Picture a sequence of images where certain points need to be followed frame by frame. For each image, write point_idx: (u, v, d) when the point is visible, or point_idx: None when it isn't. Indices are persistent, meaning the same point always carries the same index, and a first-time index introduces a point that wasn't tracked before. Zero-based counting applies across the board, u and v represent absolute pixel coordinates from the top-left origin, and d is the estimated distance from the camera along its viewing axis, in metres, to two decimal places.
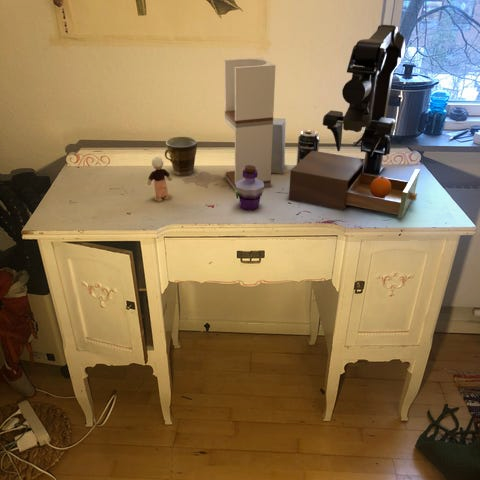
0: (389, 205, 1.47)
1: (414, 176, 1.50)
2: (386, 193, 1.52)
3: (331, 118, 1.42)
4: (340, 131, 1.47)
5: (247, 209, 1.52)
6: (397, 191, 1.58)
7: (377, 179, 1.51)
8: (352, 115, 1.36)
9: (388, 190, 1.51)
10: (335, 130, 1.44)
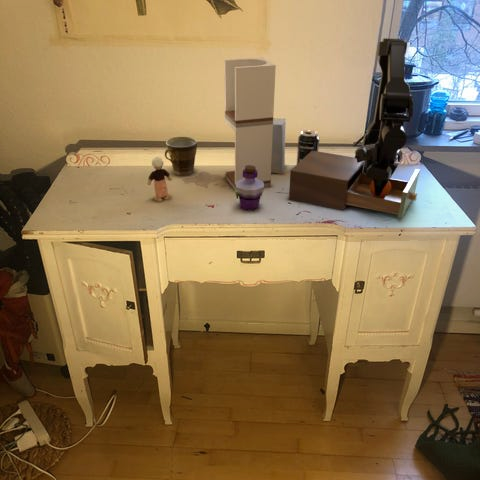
0: (389, 205, 1.47)
1: (414, 176, 1.50)
2: (386, 193, 1.52)
3: None
4: None
5: (247, 209, 1.52)
6: (397, 191, 1.58)
7: None
8: (364, 147, 1.49)
9: (388, 190, 1.51)
10: None
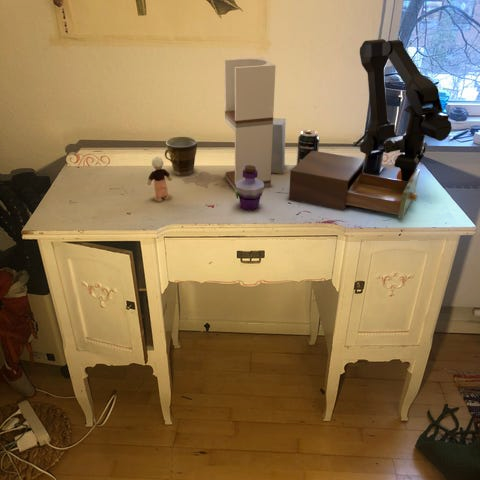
0: (389, 205, 1.47)
1: (414, 176, 1.50)
2: None
3: None
4: None
5: (247, 209, 1.52)
6: (397, 191, 1.58)
7: None
8: (392, 139, 1.59)
9: None
10: None
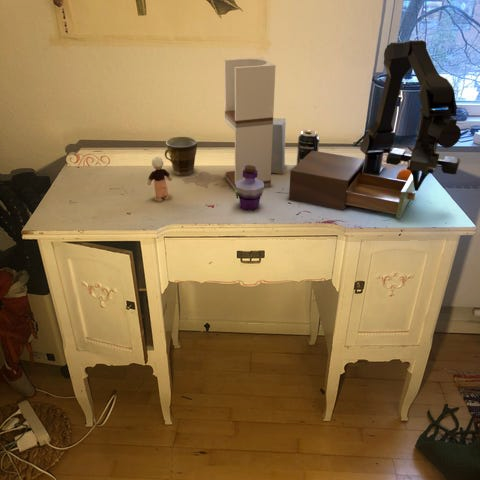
0: (387, 205, 1.47)
1: (412, 176, 1.51)
2: None
3: (395, 157, 1.44)
4: (418, 171, 1.47)
5: (247, 209, 1.52)
6: (395, 191, 1.58)
7: (403, 170, 1.62)
8: (419, 155, 1.38)
9: None
10: (415, 171, 1.44)
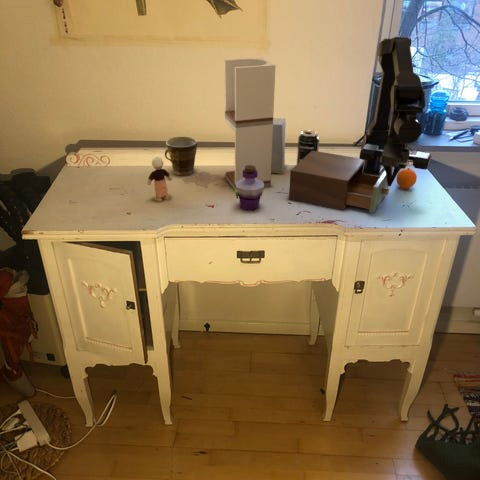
0: (361, 200, 1.50)
1: None
2: (412, 184, 1.62)
3: (368, 152, 1.46)
4: (391, 166, 1.49)
5: (247, 209, 1.52)
6: (371, 186, 1.61)
7: (403, 170, 1.62)
8: (390, 151, 1.40)
9: (414, 181, 1.62)
10: (387, 166, 1.47)
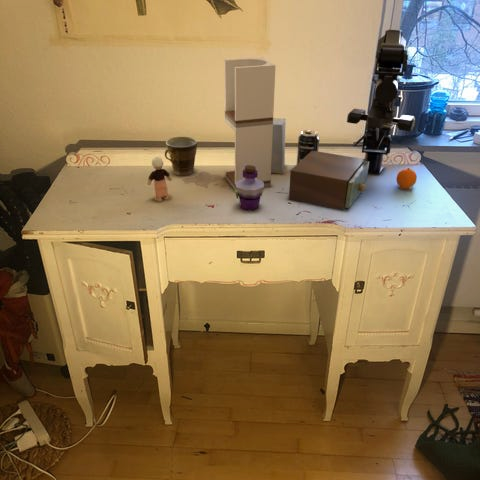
0: None
1: (362, 167, 1.56)
2: (412, 184, 1.62)
3: (355, 116, 1.53)
4: (377, 130, 1.56)
5: (247, 209, 1.52)
6: (348, 182, 1.63)
7: (403, 170, 1.62)
8: (375, 113, 1.47)
9: (414, 181, 1.62)
10: (373, 129, 1.53)
